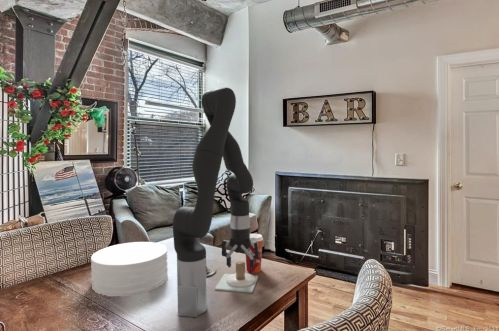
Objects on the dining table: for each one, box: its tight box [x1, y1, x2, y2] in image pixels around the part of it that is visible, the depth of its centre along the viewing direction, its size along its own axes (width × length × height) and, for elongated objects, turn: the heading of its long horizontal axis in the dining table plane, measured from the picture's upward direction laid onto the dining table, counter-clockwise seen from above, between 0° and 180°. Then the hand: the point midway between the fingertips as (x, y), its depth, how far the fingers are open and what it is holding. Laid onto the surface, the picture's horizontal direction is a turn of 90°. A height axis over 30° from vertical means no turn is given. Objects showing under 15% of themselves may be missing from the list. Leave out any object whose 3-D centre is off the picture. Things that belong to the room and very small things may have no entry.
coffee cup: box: [245, 233, 264, 274], centre depth 136 cm, size 8×8×15 cm
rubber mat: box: [214, 273, 259, 294], centre depth 123 cm, size 14×14×1 cm
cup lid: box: [226, 261, 255, 287], centre depth 124 cm, size 11×11×7 cm
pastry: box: [206, 265, 217, 277], centre depth 134 cm, size 12×12×5 cm
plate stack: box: [90, 241, 169, 297], centre depth 126 cm, size 28×28×12 cm
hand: (240, 267), depth 123 cm, fingers open, 8 cm apart
